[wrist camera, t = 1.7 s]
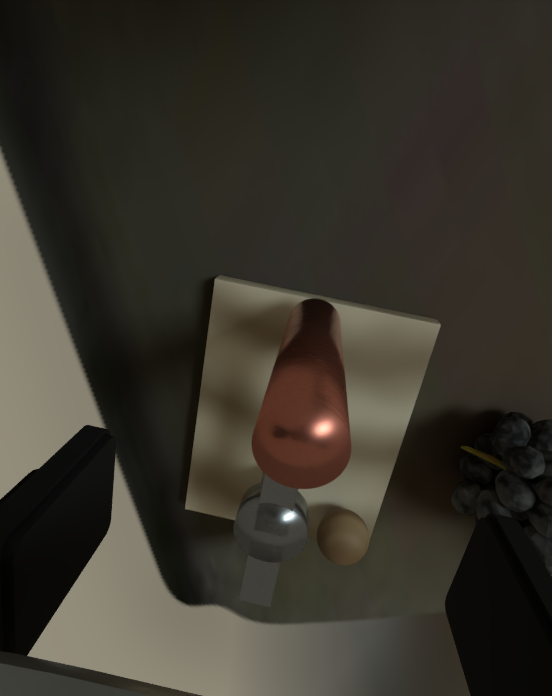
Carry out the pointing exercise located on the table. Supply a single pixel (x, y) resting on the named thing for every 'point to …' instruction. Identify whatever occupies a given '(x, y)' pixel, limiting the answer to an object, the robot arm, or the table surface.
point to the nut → (343, 537)
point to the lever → (294, 444)
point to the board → (251, 384)
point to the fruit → (511, 478)
